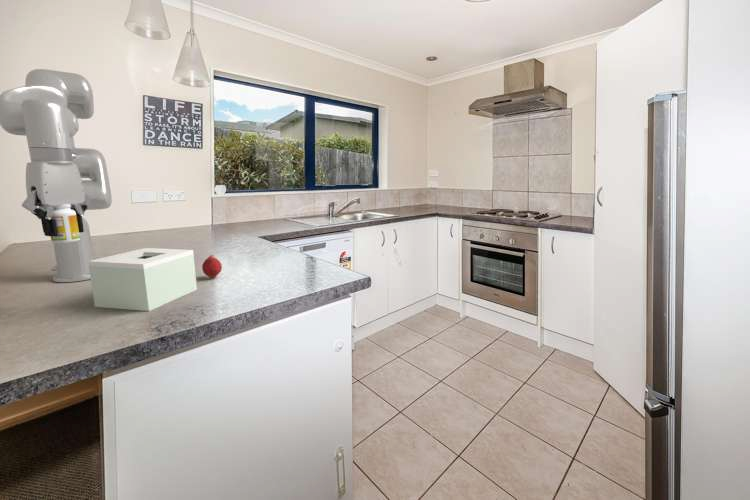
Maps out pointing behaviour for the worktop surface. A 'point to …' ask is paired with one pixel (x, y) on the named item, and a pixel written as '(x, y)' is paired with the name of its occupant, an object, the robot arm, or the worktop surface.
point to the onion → (211, 267)
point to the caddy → (142, 278)
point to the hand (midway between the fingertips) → (64, 233)
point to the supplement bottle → (65, 224)
